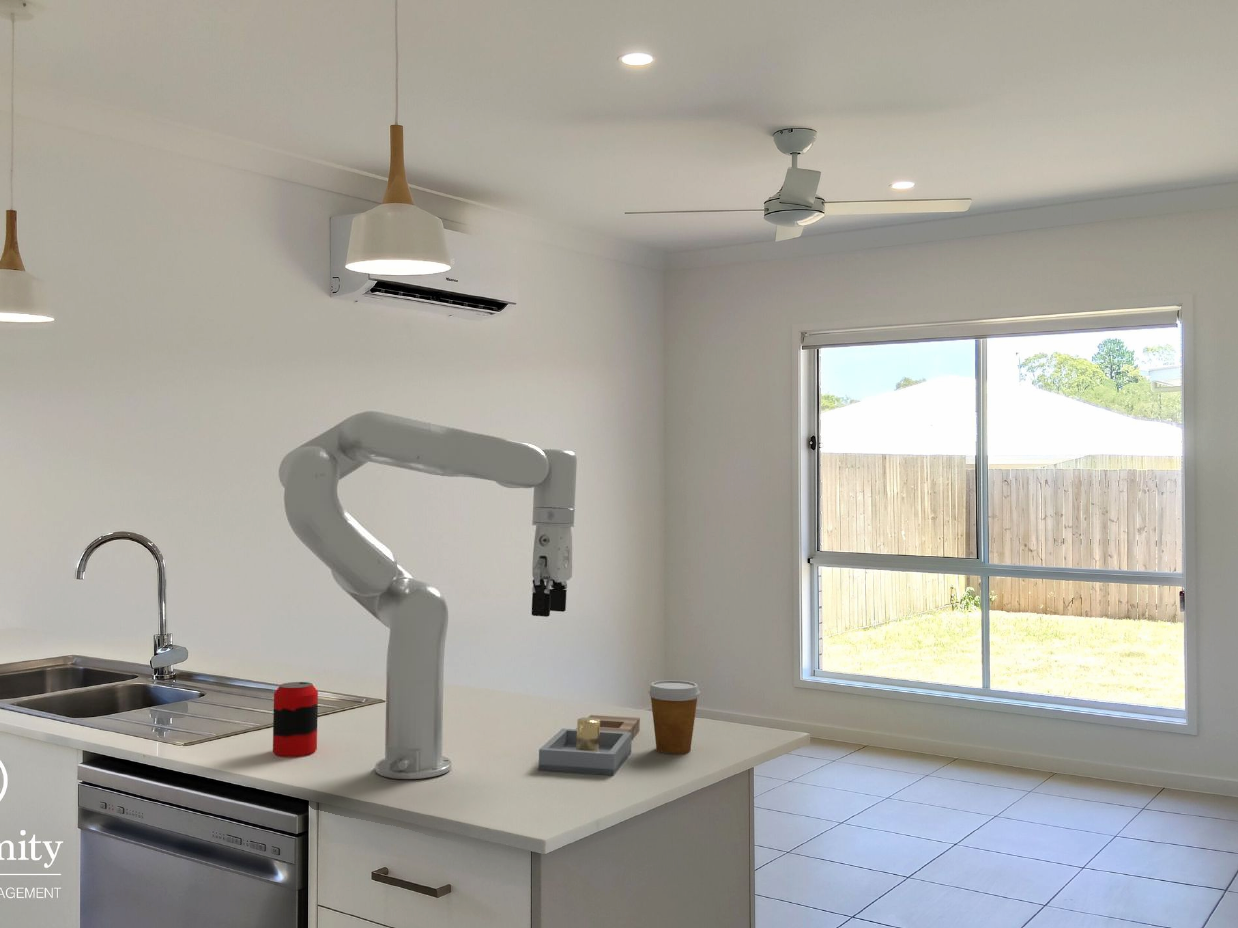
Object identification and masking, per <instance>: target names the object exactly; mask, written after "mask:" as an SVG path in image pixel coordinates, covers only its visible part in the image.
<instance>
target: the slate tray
mask: <svg viewBox="0 0 1238 928" xmlns="http://www.w3.org/2000/svg"><path fill="white" fill-rule="evenodd" d="M632 741H633V740H632V733H629V732H613V731H600V736H599V752H598V751H583V750H576V742H577V729H576V728H561V729H560V730H559V731H558V732H557V733H556V734H554V736H552V737H551V738H550V739H549V740H548V741H547V742H546V743H545V744H544V745H542V746H541V747H540V748H539V749H538V771H542V772H543V771H544V772H559V773H575V774H587V775H588V774H589V775H602V776H614V775H616V773H617V772H618V770H619V769H620V768H621V766H623V764H624V763H625V762H626V760H627V759H628V757H629V756H630V755H631V753H632Z"/></svg>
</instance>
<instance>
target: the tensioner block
mask: <svg viewBox="0 0 1238 928" xmlns="http://www.w3.org/2000/svg"><path fill="white" fill-rule="evenodd" d="M587 718H596V719H599V720H600V731H613V732H629V733H632V741H633V740H634V739H635V737H636V736H637V734H638V733H639V732H640V729H641V727H640V726H641V725H640V724H641V723H640V722H641V721H640V719H641V717H633V716H632V717H631V716H614V715H613V716H611V715H597V714H596V715H595V714H590V715H588V717H587ZM575 729H577V727H576V728H575Z"/></svg>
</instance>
